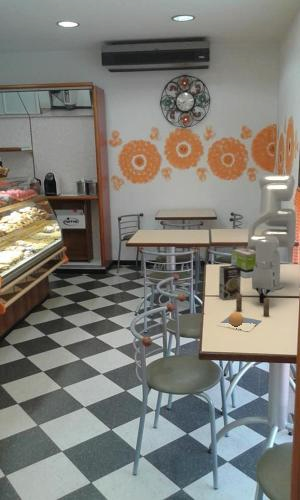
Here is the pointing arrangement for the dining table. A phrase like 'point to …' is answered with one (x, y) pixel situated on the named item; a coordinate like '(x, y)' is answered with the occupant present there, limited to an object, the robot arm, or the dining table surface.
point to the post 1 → (238, 302)
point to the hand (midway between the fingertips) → (262, 302)
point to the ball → (236, 319)
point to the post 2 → (266, 307)
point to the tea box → (244, 261)
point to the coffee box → (229, 281)
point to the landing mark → (244, 321)
